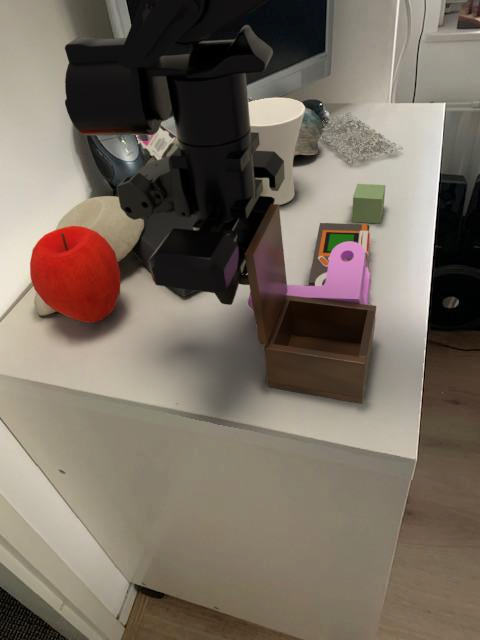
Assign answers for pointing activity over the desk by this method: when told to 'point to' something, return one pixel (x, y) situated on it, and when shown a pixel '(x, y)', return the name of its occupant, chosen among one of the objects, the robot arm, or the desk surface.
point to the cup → (277, 137)
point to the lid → (266, 273)
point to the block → (368, 203)
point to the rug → (354, 138)
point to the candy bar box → (160, 143)
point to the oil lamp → (101, 229)
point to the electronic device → (329, 240)
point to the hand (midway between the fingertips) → (235, 287)
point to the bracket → (339, 278)
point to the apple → (76, 273)
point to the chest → (321, 348)
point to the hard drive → (161, 235)
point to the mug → (308, 134)
